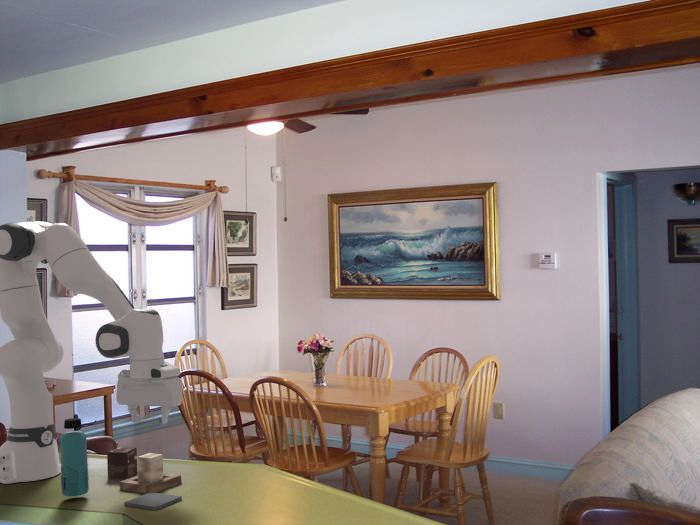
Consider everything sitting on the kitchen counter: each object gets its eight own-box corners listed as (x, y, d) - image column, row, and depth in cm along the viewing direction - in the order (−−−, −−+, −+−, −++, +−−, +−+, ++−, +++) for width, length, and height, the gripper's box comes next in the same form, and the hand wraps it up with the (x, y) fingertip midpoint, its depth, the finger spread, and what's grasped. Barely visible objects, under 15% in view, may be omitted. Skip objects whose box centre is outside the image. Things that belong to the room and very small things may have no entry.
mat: (124, 505, 181) (124, 502, 181) (150, 495, 189) (150, 492, 189) (155, 510, 176) (155, 507, 176) (181, 499, 184) (181, 496, 184)
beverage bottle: (95, 496, 189) (92, 416, 190) (75, 504, 183) (72, 421, 184) (75, 494, 192) (73, 415, 193) (55, 501, 186) (52, 420, 187)
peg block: (138, 487, 196) (137, 456, 196) (150, 483, 200) (149, 453, 200) (151, 489, 194) (150, 458, 194) (163, 484, 198) (162, 454, 198)
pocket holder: (119, 489, 195) (119, 481, 195) (149, 478, 205) (149, 471, 205) (152, 494, 190) (151, 486, 190) (181, 482, 199) (181, 475, 199)
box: (127, 479, 205) (126, 452, 205) (107, 479, 206) (106, 452, 206) (138, 473, 211) (137, 447, 211) (118, 473, 212) (117, 447, 212)
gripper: (109, 370, 200) (111, 423, 200) (168, 372, 190) (171, 427, 190) (126, 367, 205) (129, 418, 205) (185, 368, 196) (187, 422, 195)
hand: (149, 422), depth 197 cm, fingers open, 8 cm apart
